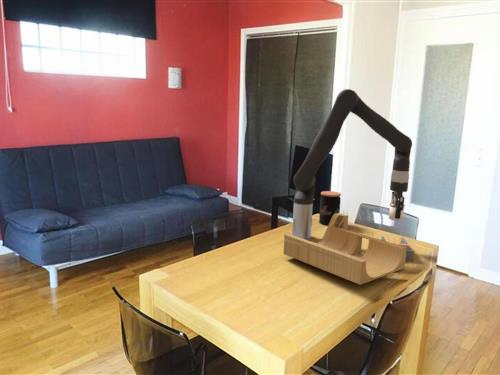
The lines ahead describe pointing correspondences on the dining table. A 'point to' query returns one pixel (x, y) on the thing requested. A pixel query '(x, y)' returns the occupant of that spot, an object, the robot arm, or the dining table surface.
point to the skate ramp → (347, 252)
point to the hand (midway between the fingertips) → (395, 216)
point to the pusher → (404, 245)
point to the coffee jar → (329, 206)
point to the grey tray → (408, 252)
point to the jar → (392, 212)
